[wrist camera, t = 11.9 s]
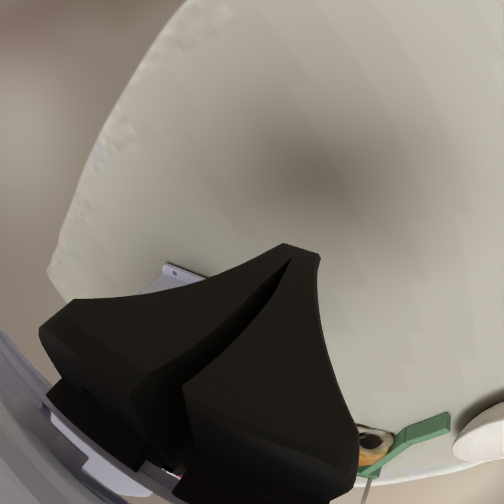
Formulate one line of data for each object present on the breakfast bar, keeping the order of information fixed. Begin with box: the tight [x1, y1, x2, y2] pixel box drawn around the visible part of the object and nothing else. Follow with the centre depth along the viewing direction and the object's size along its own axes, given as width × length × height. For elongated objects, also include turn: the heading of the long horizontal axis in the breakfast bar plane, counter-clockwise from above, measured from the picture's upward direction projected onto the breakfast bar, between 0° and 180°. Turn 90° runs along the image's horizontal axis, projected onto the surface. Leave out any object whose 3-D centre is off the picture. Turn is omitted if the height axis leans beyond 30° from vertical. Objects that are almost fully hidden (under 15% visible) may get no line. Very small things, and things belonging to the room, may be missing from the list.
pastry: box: [356, 426, 394, 467], centre depth 28 cm, size 9×7×4 cm
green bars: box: [357, 412, 451, 504], centre depth 25 cm, size 19×18×10 cm
